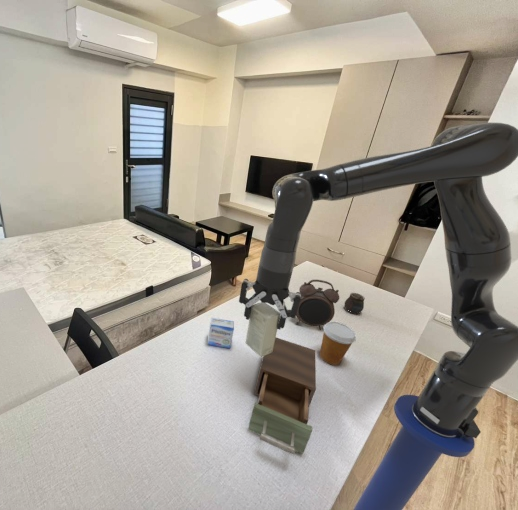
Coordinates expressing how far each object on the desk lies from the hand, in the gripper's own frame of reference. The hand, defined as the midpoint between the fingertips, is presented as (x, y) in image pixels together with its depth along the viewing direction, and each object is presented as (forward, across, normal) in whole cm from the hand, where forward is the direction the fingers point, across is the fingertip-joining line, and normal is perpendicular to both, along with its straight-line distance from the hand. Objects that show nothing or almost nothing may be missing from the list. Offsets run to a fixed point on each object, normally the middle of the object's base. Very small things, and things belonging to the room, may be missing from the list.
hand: (263, 322), depth 70 cm
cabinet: (+23, +9, +7) cm, 26 cm away
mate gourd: (+24, +33, +66) cm, 78 cm away
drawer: (+22, +9, -8) cm, 25 cm away
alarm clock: (+24, +15, +44) cm, 52 cm away
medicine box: (+23, -14, +15) cm, 31 cm away
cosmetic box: (+8, 0, 0) cm, 8 cm away
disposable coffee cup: (+24, +22, +27) cm, 42 cm away
